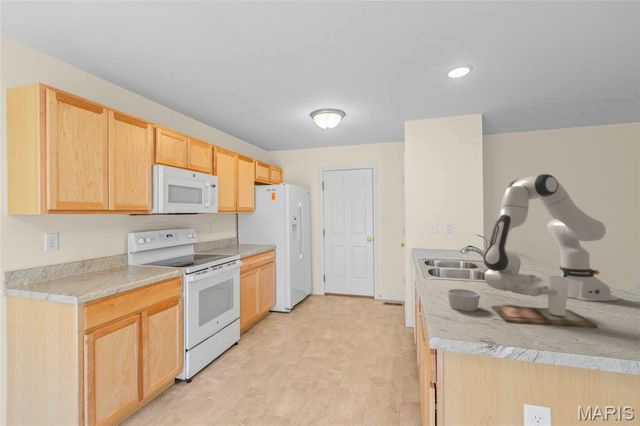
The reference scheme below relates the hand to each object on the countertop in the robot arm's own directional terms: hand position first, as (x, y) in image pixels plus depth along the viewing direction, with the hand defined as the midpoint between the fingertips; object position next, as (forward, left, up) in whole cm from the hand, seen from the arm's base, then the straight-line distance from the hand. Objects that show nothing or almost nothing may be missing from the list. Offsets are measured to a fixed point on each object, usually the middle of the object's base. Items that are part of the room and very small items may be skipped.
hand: (561, 291), depth 120 cm
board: (+8, -1, -11) cm, 13 cm away
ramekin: (+35, -8, -11) cm, 37 cm away
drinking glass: (+2, 0, -10) cm, 10 cm away
